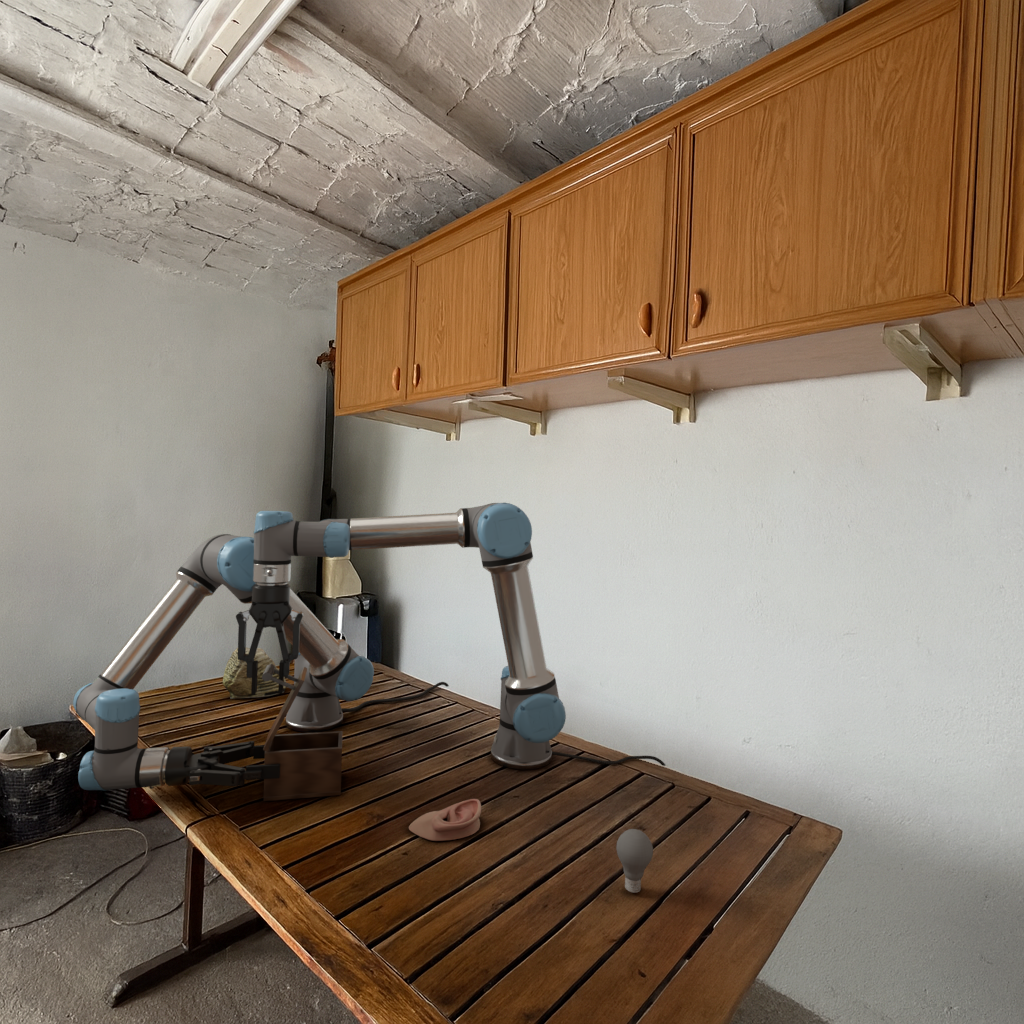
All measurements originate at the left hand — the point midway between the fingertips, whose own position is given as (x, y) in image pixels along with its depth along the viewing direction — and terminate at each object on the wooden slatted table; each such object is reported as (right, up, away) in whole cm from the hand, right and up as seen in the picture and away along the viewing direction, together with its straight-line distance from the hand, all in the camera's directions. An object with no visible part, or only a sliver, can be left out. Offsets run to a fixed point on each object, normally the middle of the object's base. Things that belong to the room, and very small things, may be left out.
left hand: (282, 760), depth 136 cm
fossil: (-31, -4, +62) cm, 69 cm away
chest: (+4, -6, +1) cm, 8 cm away
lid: (+1, +11, 0) cm, 11 cm away
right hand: (-3, +15, -1) cm, 15 cm away
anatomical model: (+36, -8, -13) cm, 39 cm away
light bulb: (+70, -10, -31) cm, 77 cm away
